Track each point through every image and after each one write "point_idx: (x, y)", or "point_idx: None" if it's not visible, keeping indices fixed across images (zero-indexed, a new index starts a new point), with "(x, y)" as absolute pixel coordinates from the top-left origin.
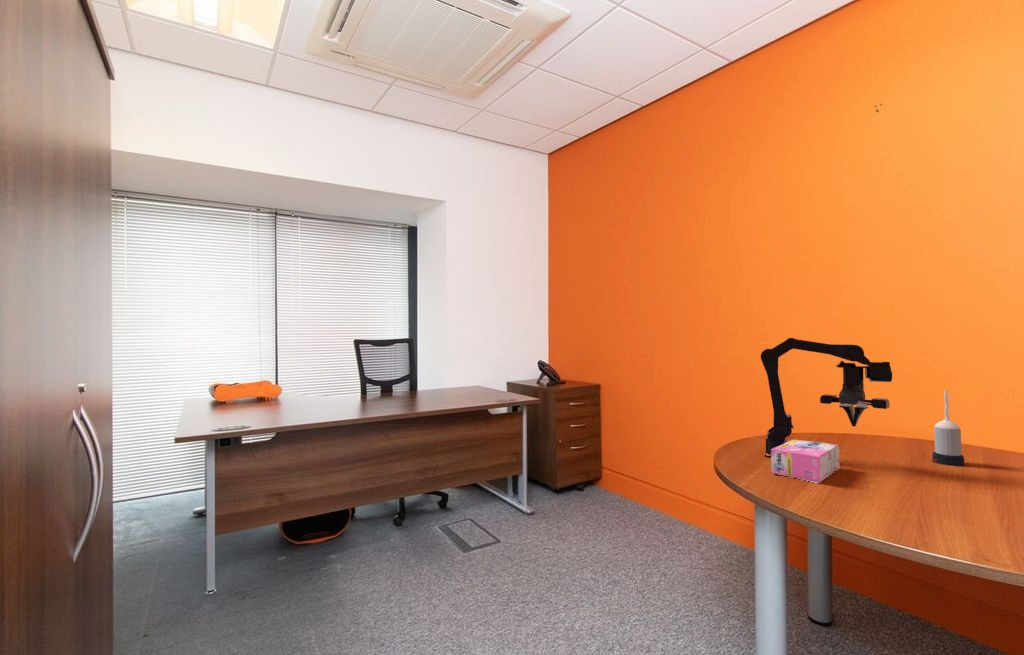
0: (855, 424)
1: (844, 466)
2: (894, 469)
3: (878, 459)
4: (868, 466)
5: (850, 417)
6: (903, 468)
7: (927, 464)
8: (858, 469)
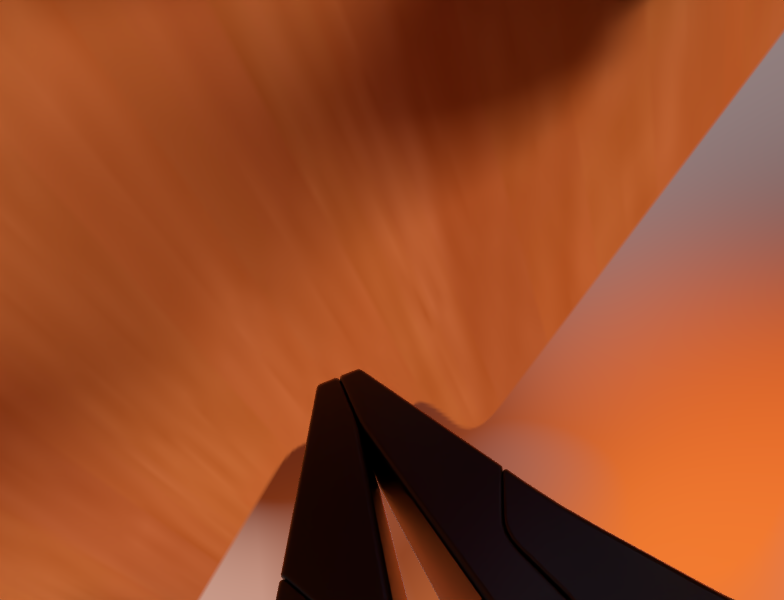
0: (315, 411)
1: (264, 58)
2: (49, 323)
3: (281, 435)
4: (188, 238)
5: (451, 479)
6: (58, 397)
7: (100, 561)
8: (142, 54)
